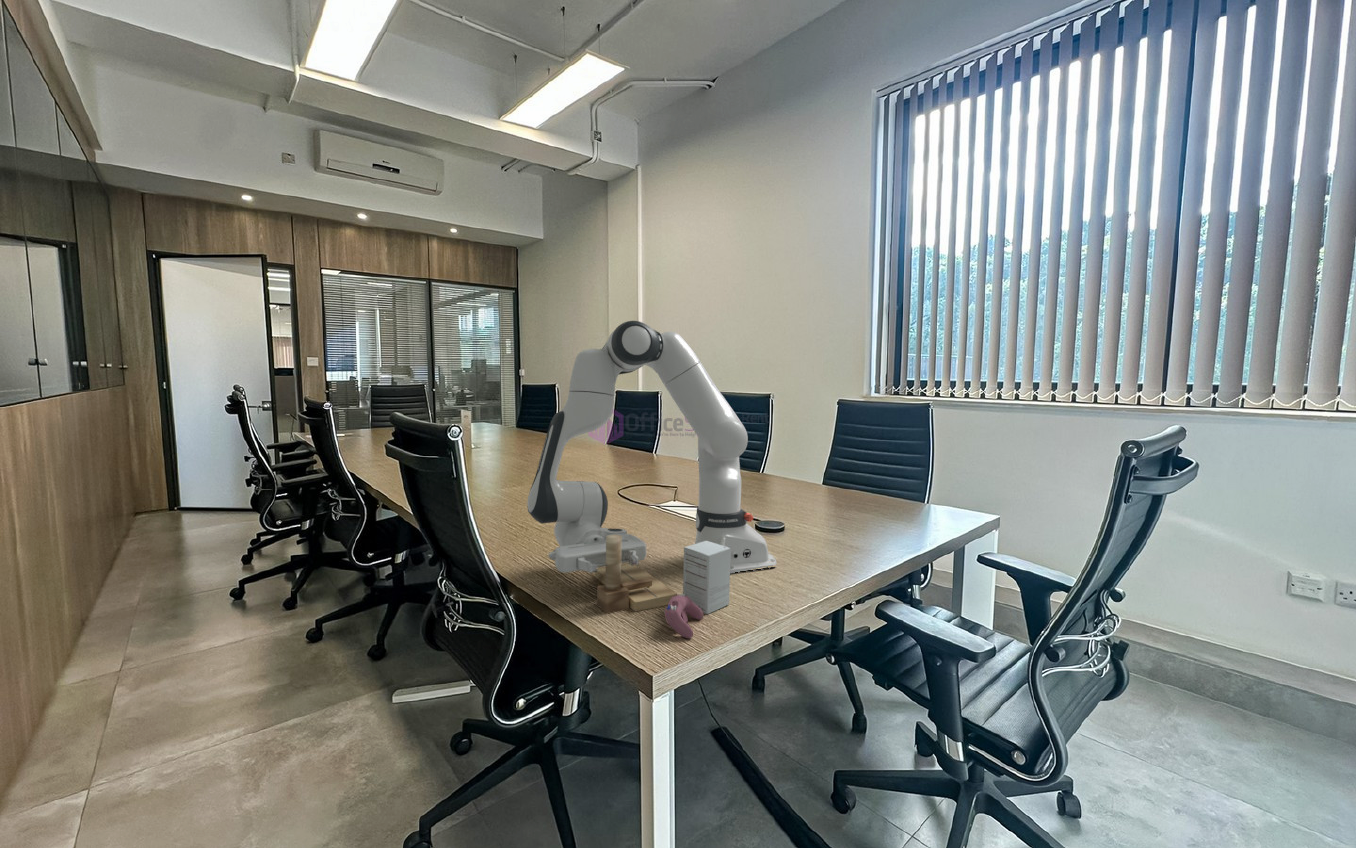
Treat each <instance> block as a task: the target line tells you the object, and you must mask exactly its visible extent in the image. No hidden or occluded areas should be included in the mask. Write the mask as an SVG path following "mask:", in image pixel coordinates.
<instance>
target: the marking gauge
mask: <svg viewBox="0 0 1356 848" xmlns="http://www.w3.org/2000/svg"><path fill="white" fill-rule="evenodd" d="M621 548H622V536H620V535H608V536H606V566H605V567H606V580H605V585H604V584H602V585H597V588H596V591H597V592H596V593H597V594H596V597H597V598H596V605H597V606H598V607H599V608H600V609H601V610H602V611H603V612H604V613H605V614H606V615H607V614H612V613H616V612H620V611H621V612H622V611H625V610H626V611H627V610H628V609H629V608H630V607H629V590H634V589H639V588H644V587H647V588H649V587H650V586H652V580H650V579H649V578H647V579H642V580H636V581H631V582H625V583H621V564H622V563H621Z"/></svg>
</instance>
